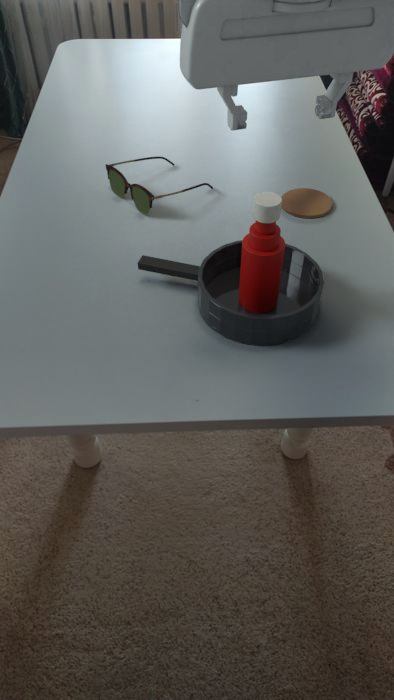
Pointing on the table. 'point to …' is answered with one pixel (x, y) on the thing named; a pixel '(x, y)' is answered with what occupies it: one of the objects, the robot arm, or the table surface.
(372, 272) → the table surface
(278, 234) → the sauce bottle
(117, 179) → the sunglasses
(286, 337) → the pan
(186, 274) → the pan handle
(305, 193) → the coaster
